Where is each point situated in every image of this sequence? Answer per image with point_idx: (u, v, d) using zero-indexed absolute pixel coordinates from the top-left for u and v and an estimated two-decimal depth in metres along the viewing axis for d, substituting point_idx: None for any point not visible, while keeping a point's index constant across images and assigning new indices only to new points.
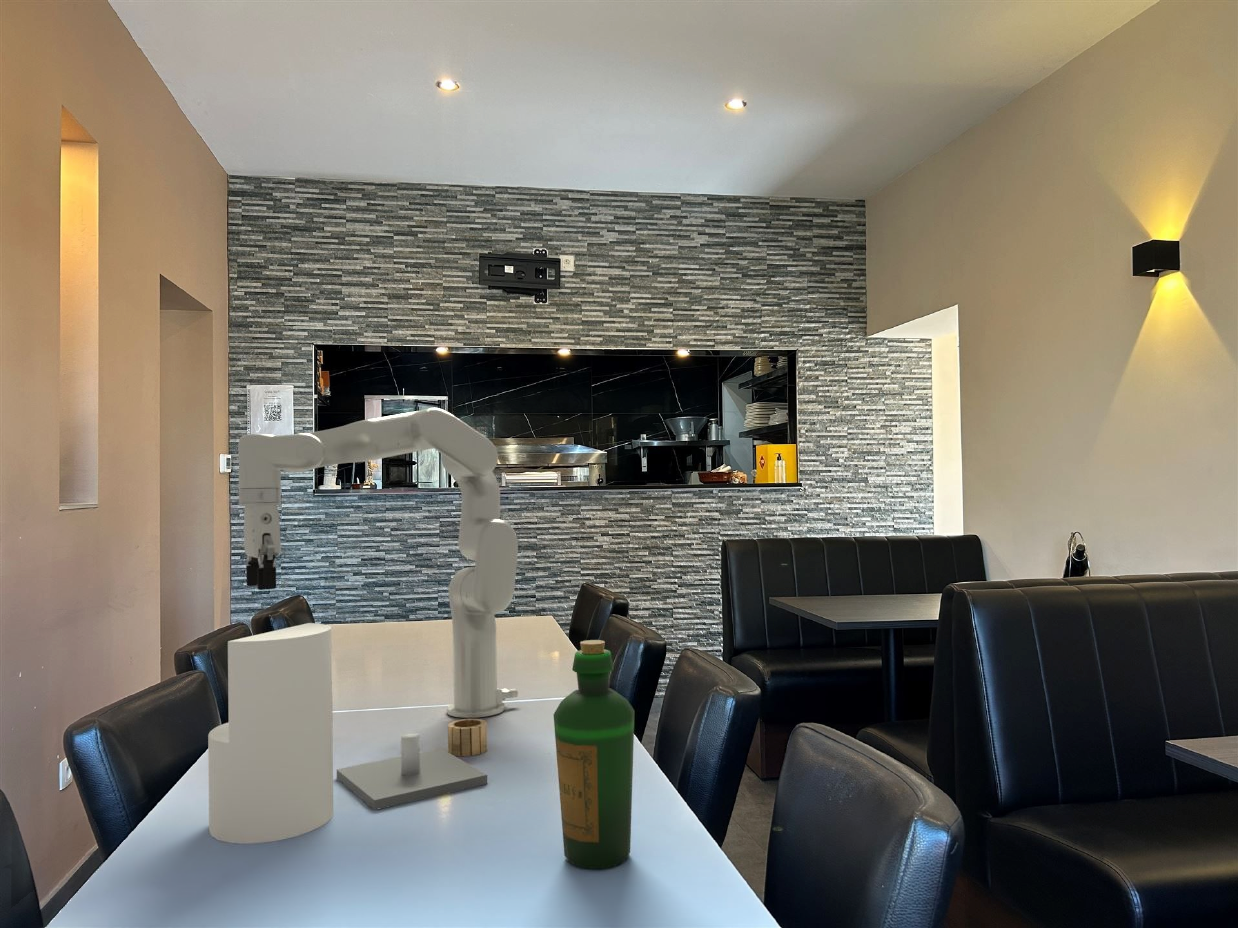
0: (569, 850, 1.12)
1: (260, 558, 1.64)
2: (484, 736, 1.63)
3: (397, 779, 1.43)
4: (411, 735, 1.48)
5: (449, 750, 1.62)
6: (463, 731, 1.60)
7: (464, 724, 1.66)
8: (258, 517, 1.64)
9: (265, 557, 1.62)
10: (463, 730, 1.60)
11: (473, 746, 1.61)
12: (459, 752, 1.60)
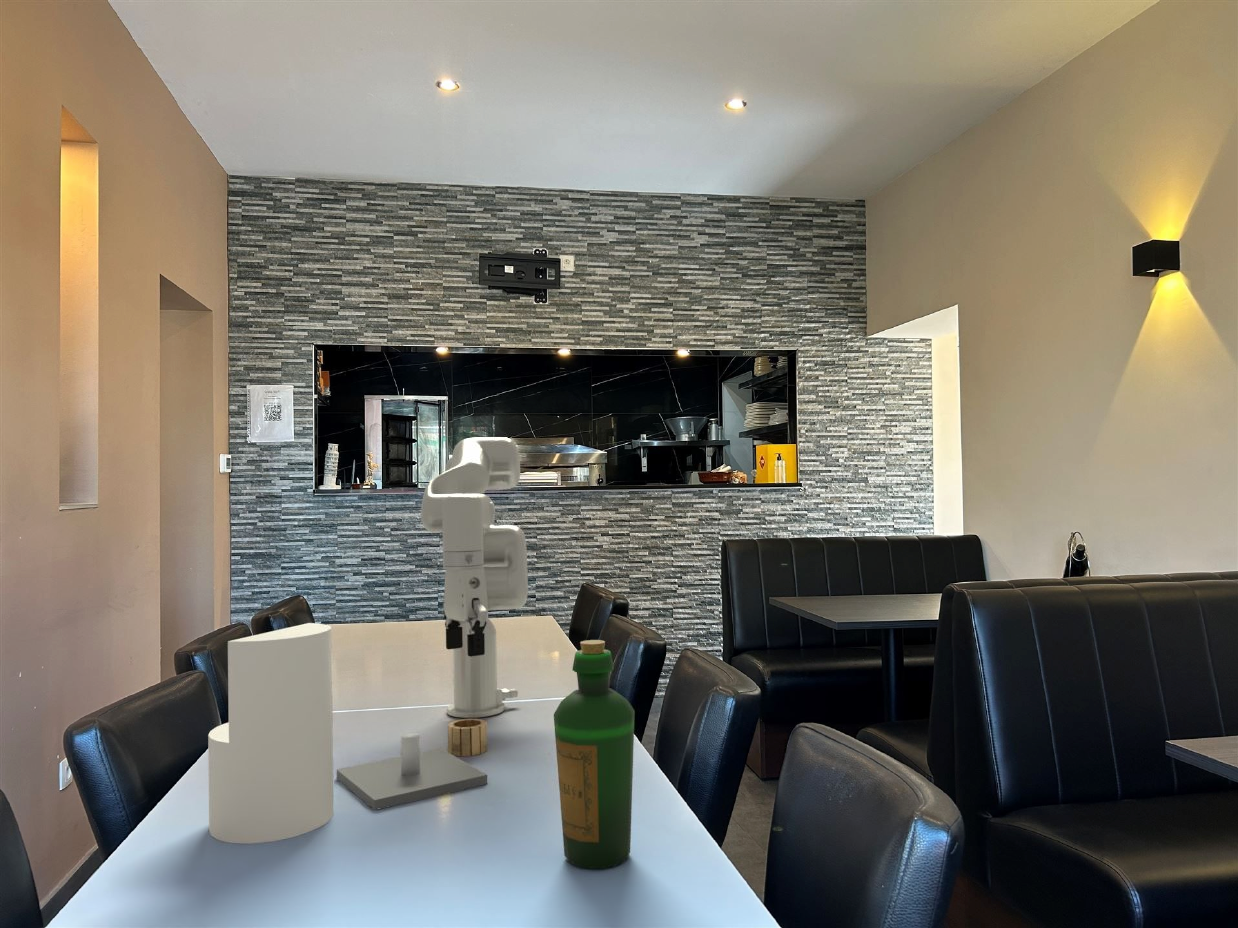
0: (569, 850, 1.12)
1: (470, 624, 1.60)
2: (484, 736, 1.63)
3: (397, 779, 1.43)
4: (411, 735, 1.48)
5: (449, 750, 1.62)
6: (463, 731, 1.60)
7: (464, 724, 1.66)
8: (467, 581, 1.60)
9: (477, 623, 1.58)
10: (463, 730, 1.60)
11: (473, 746, 1.61)
12: (459, 752, 1.60)
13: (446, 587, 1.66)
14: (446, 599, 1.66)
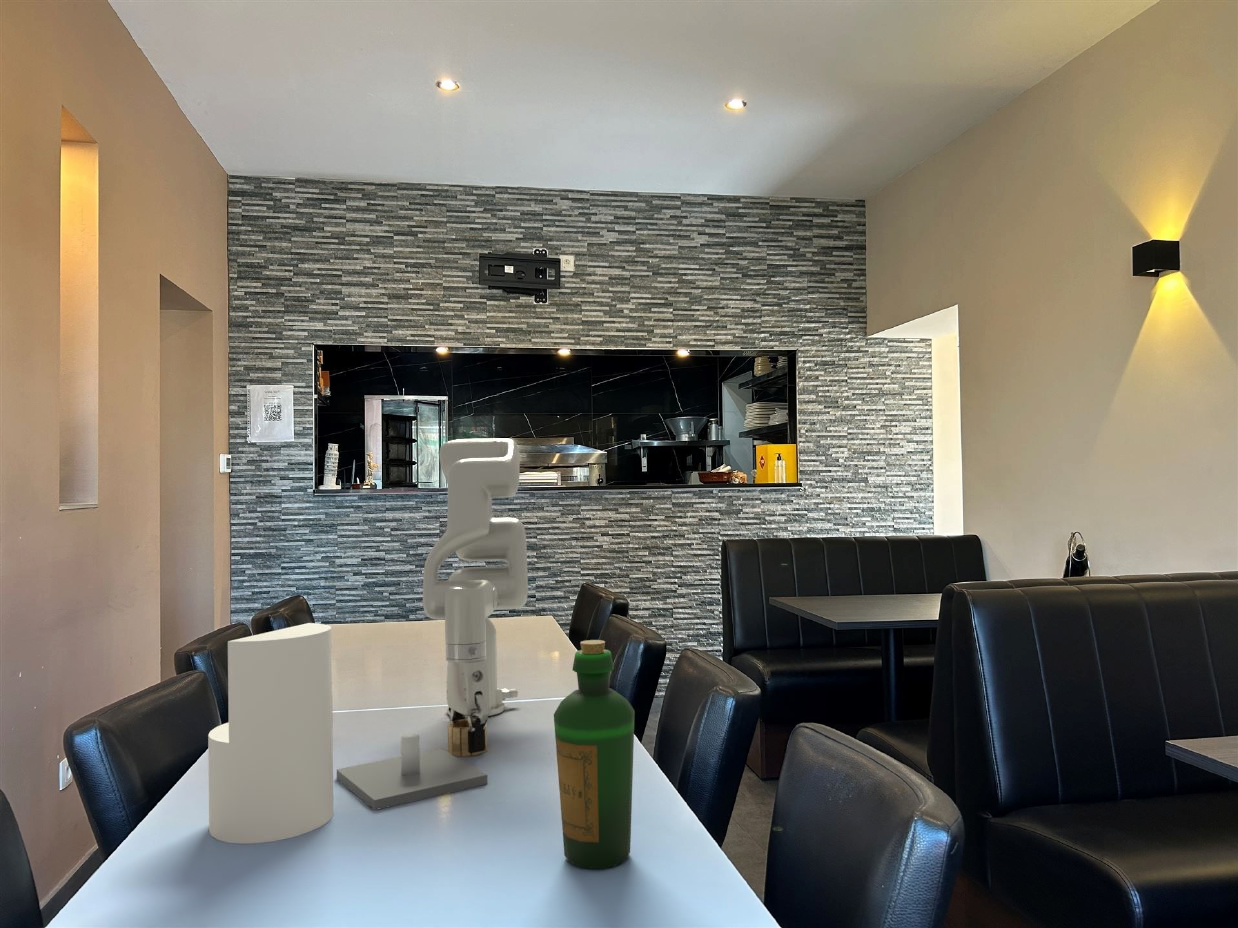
0: (569, 850, 1.12)
1: (471, 721, 1.60)
2: None
3: (397, 779, 1.43)
4: (411, 735, 1.48)
5: (449, 750, 1.62)
6: (463, 731, 1.60)
7: (464, 724, 1.66)
8: (470, 675, 1.60)
9: (478, 721, 1.58)
10: (463, 730, 1.60)
11: None
12: (459, 752, 1.60)
13: (448, 677, 1.65)
14: (448, 689, 1.65)
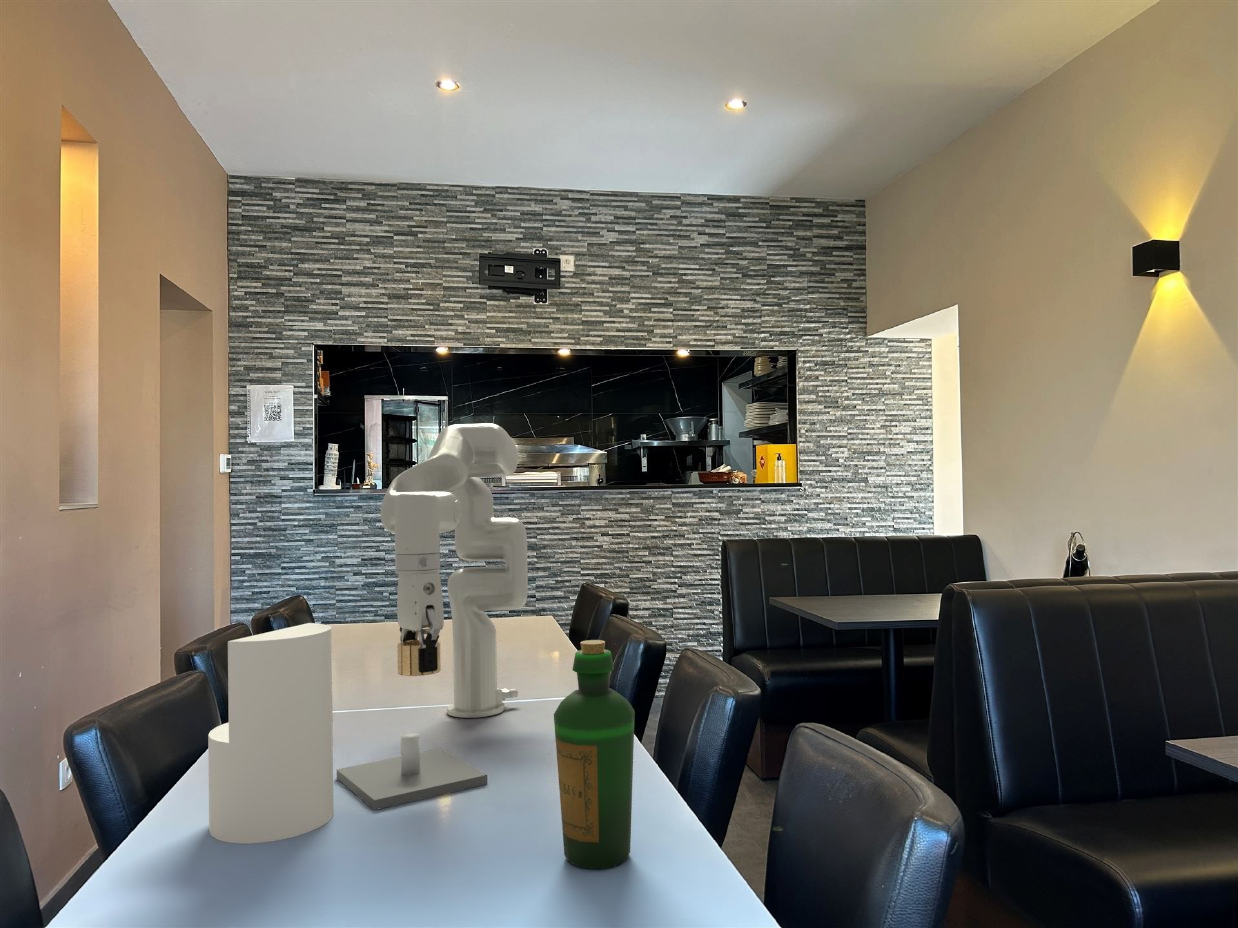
0: (569, 850, 1.12)
1: (422, 637, 1.46)
2: None
3: (397, 779, 1.43)
4: (411, 735, 1.48)
5: (398, 671, 1.49)
6: (413, 648, 1.47)
7: (416, 645, 1.53)
8: (421, 587, 1.46)
9: (429, 637, 1.45)
10: (413, 648, 1.47)
11: None
12: (409, 672, 1.47)
13: (399, 593, 1.52)
14: (399, 606, 1.52)
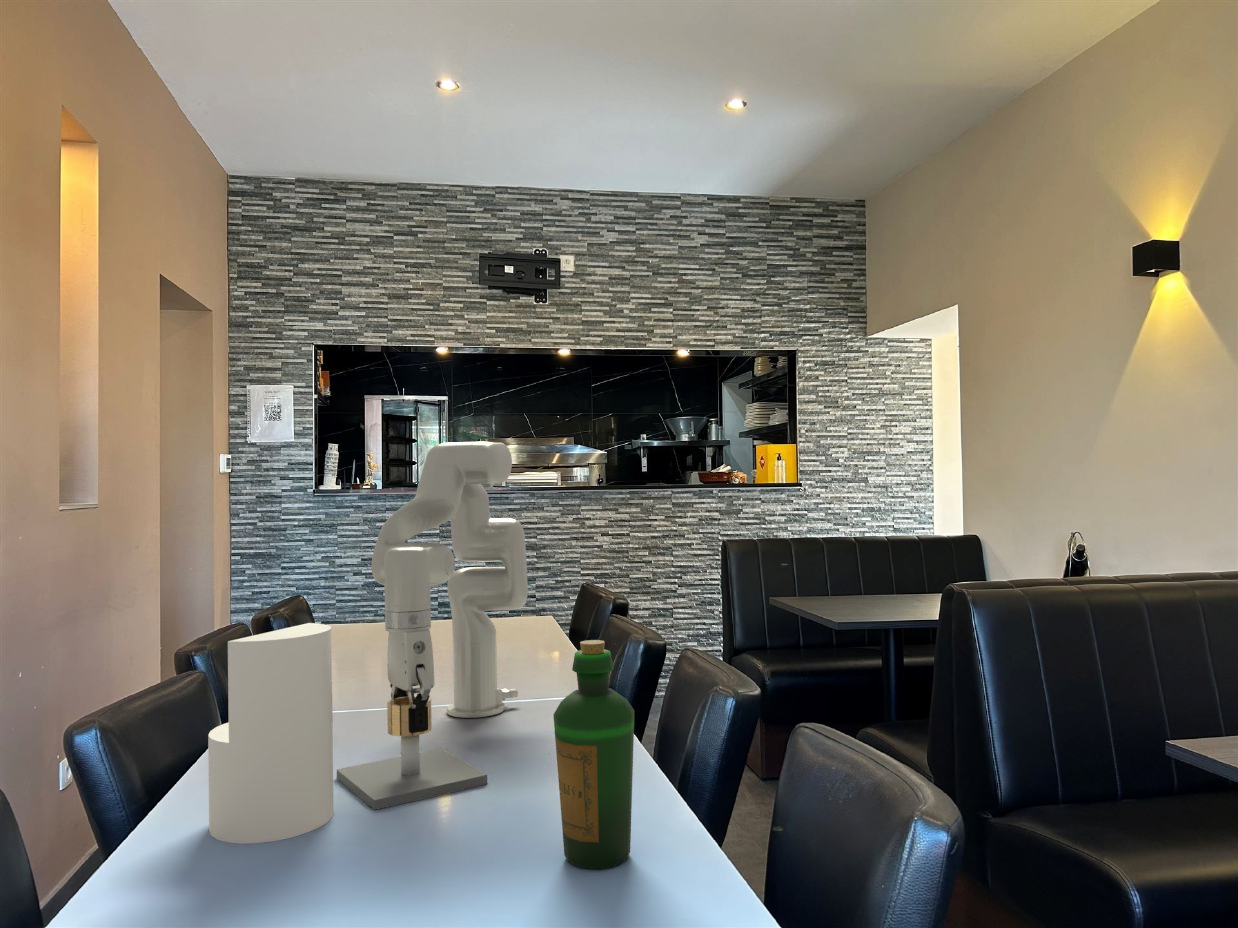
0: (569, 850, 1.12)
1: (412, 697, 1.43)
2: (428, 714, 1.46)
3: (397, 779, 1.43)
4: None
5: (388, 730, 1.46)
6: (403, 708, 1.44)
7: (407, 702, 1.50)
8: (411, 646, 1.43)
9: (419, 697, 1.42)
10: (403, 707, 1.44)
11: None
12: (399, 732, 1.44)
13: (389, 650, 1.49)
14: (389, 663, 1.49)
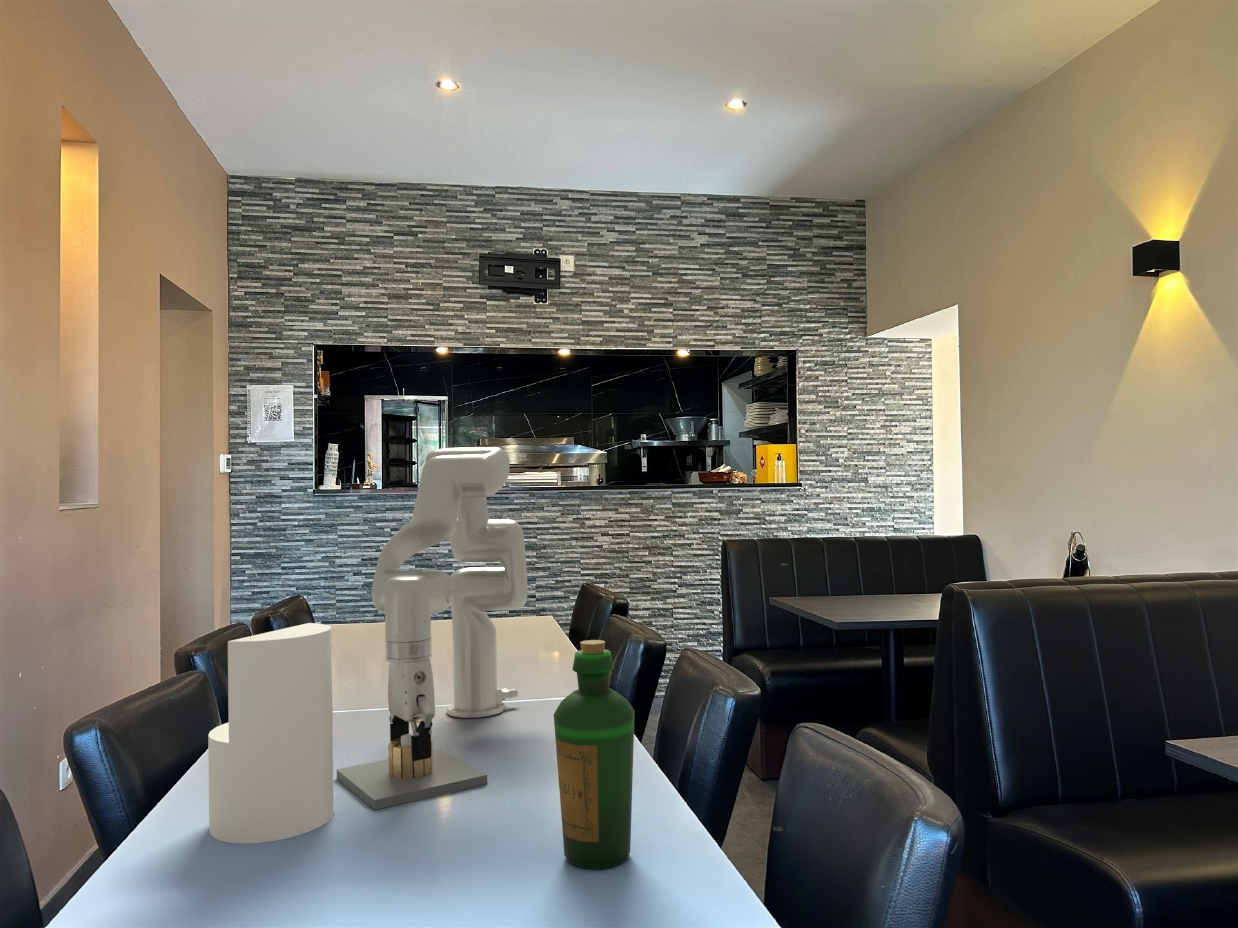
0: (569, 850, 1.12)
1: (414, 724, 1.42)
2: None
3: (397, 779, 1.43)
4: (411, 735, 1.48)
5: (389, 772, 1.46)
6: (404, 750, 1.44)
7: None
8: (411, 676, 1.43)
9: (422, 725, 1.41)
10: (404, 749, 1.44)
11: (416, 767, 1.44)
12: (400, 774, 1.44)
13: (390, 679, 1.49)
14: (390, 692, 1.49)
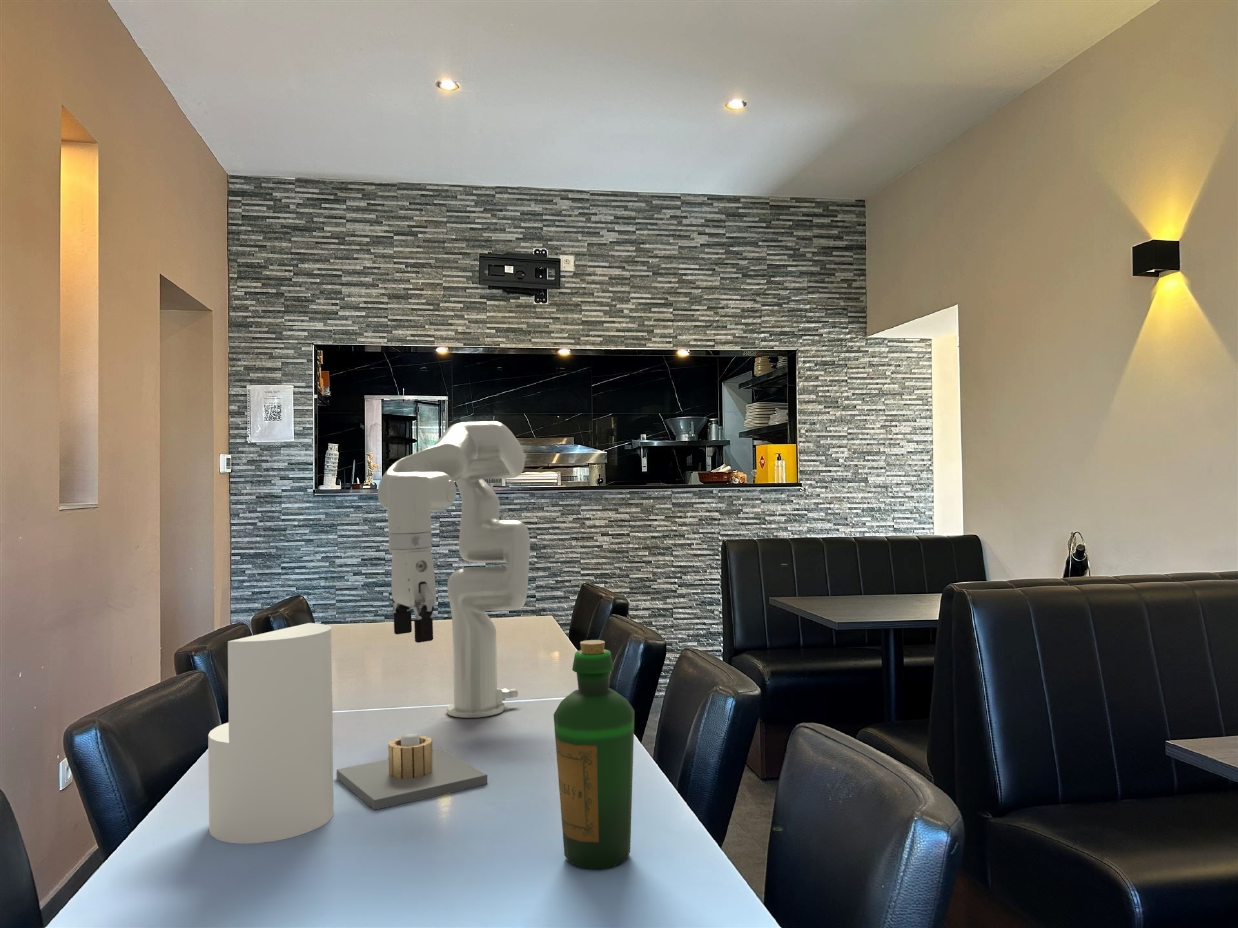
0: (569, 850, 1.12)
1: (417, 609, 1.53)
2: (429, 756, 1.46)
3: (397, 779, 1.43)
4: (411, 735, 1.48)
5: (389, 772, 1.46)
6: (404, 750, 1.44)
7: None
8: (414, 565, 1.53)
9: (424, 609, 1.51)
10: (404, 749, 1.44)
11: (416, 767, 1.44)
12: (400, 774, 1.44)
13: (393, 570, 1.59)
14: (393, 583, 1.59)
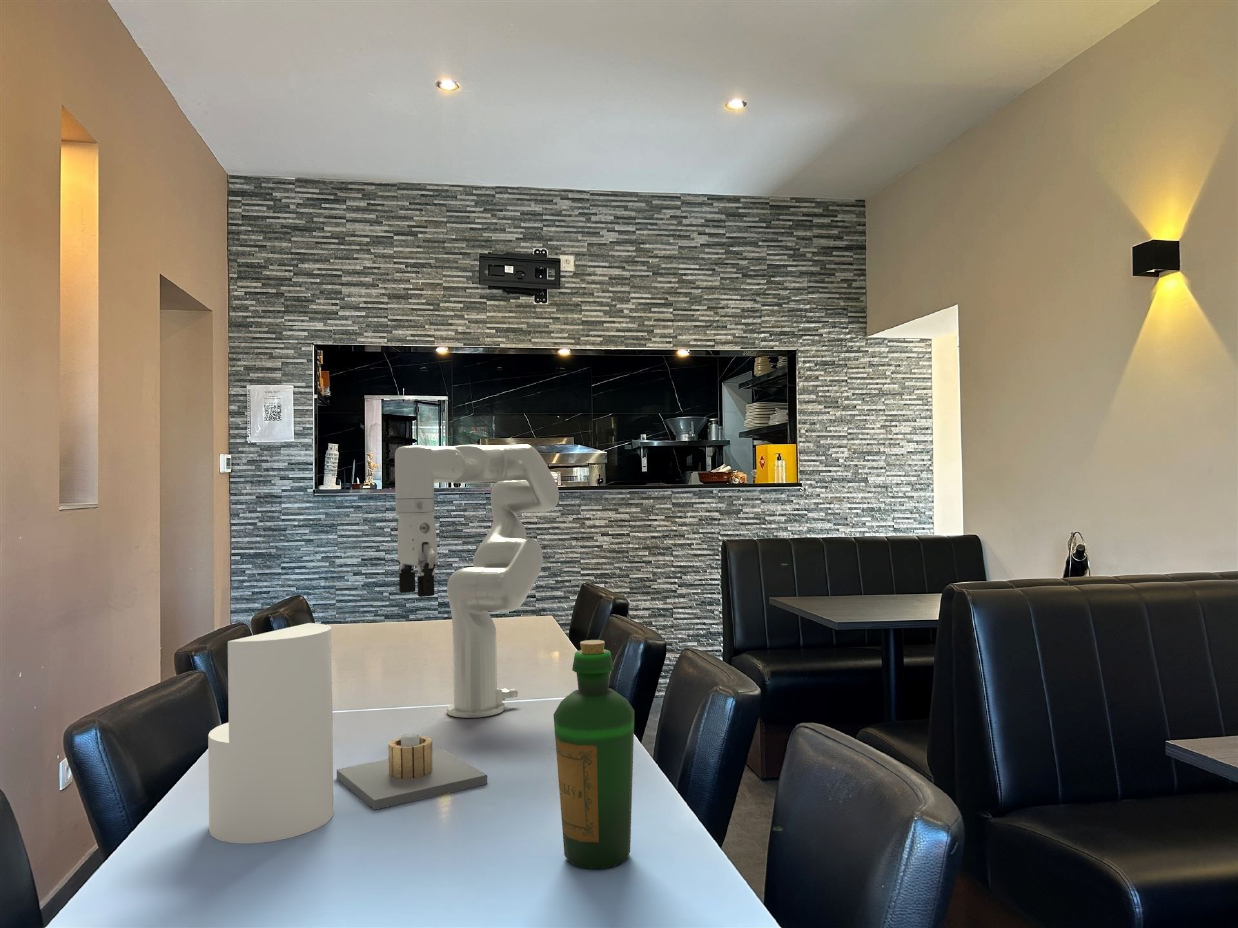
0: (569, 850, 1.12)
1: (420, 566, 1.69)
2: (429, 756, 1.46)
3: (397, 779, 1.43)
4: (411, 735, 1.48)
5: (389, 772, 1.46)
6: (404, 750, 1.44)
7: None
8: (417, 526, 1.70)
9: (426, 565, 1.68)
10: (404, 749, 1.44)
11: (416, 767, 1.44)
12: (400, 774, 1.44)
13: (399, 533, 1.75)
14: (399, 545, 1.75)
